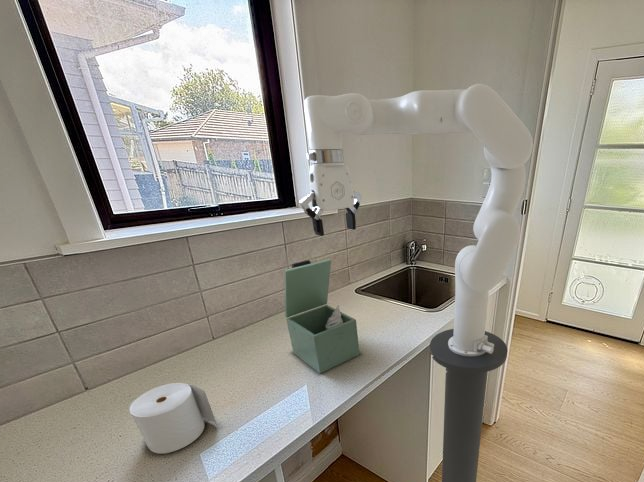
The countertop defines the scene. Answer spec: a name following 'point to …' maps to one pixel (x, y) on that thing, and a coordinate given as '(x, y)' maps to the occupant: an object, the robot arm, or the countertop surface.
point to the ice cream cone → (334, 319)
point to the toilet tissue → (171, 416)
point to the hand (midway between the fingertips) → (336, 231)
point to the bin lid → (306, 286)
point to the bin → (323, 338)
